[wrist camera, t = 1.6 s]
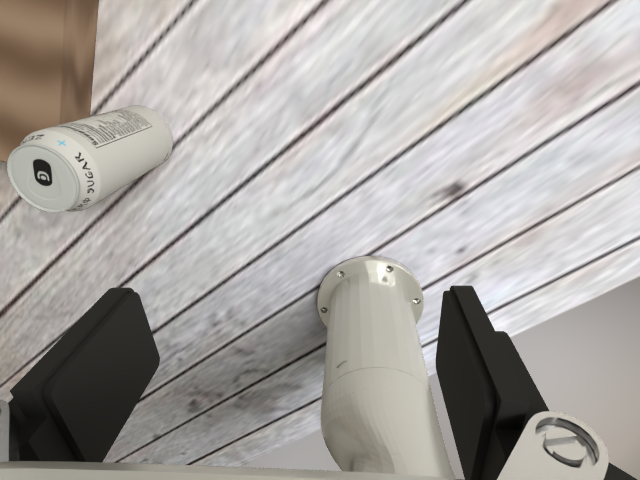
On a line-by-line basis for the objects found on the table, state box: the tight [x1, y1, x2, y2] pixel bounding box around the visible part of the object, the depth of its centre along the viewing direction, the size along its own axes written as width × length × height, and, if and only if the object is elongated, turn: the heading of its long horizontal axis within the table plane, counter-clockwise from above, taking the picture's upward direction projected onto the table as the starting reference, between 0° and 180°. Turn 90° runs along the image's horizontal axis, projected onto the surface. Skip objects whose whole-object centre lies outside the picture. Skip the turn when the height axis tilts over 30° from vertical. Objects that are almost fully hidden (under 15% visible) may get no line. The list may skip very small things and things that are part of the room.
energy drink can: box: [7, 106, 173, 213], centre depth 32 cm, size 6×6×15 cm
